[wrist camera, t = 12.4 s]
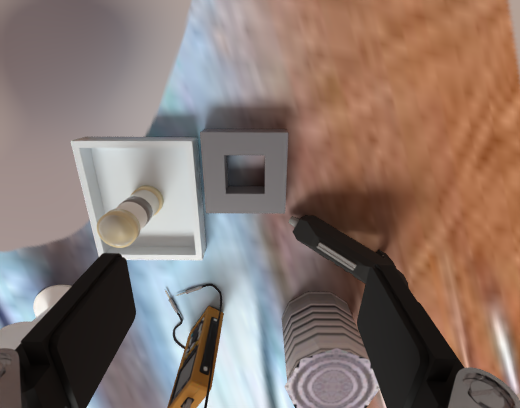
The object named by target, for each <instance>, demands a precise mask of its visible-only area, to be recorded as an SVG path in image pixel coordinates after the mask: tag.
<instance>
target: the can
mask: <svg viewBox="0 0 520 408" xmlns="http://www.w3.org/2000/svg"><path fill="white" fill-rule="evenodd" d="M282 326H283V338H284V349H285V361H286V373H287V383H286V385H285V388H286V390H287V392H288V394H289V396H290V398H291V400H292V402H293V404H294V407H295V408H366V407H367V406H368V404H369V403H370V402H371V400H372V399H373V397H374V396H375V395H376V393H377V392H378V390H379V389H380V388H379V385H378V382H377V379H376V377H375V374H374V371H373V369H372V366H371V363H370V360H369V358H368V355H367V352H366V350H365V347H364V345H363V342H362V340H361V337H360V335H359V332H358V329H357V327H356V324H355V322H354V319H353V317H352V314H351V312H350V309H349V307H348V304H347V302H345V301H344V300H342V299H340V298H339V297H337V296H336V295H334V294H333V293H331V292H307V293H305V294H303V295H301V296H299V297H297V298H296V299H294V300H292V301H290V302H289V304H288V306H287V308H286V310H285V312H284V314H283V317H282Z"/></svg>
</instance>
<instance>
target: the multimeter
mask: <svg viewBox="0 0 520 408" xmlns="http://www.w3.org/2000/svg"><path fill="white" fill-rule="evenodd" d="M206 286H213V287H214V288H215V289H216V290H217V291H218V292H219V294H220V310H217V309H214V308H212V307H210V306H208V307H207V309H206V311H205V312H204V313H203V315H202V316H201V318H200V319H199V321H198V322H197V323H196V325H195V326H194V328H193V329H192V330H191V332H190V334H189V336H188V340H187V343H186V346H185V347H184V346H182V345H181V344H180V343H178V342H177V340H176V339H175V335H174V333H175V329H176V328H177V327H178V326H180V325H181V324H182V321H183V320H182V318H181V316H180V314H179V313H178V309H177V307H176V305H175V304H174V302H173V300H172V298H170V296H169V295H168V293H167V291H166V290H165V292H166V294H167V296H168V297H169V301H170V303H171V305H172V307H173V309H174V310H175V312H176V313H177V314H178V316H179V318H180V320H181V323H180V324H179V325H177V326H176V327H175V328H174V330H173V338H174V340H175V342H176V343H177V344H178V345H179V346H181V347H182V348H184V349H185V350H184V353H183V357H182V360H181V363H180V366H179V370H178V373H177V377H176V380H175V383H174V387H173V390H172V394H171V397H170V400H169V404H168V407H167V408H196V407H197V406H198V405H199V404H200V403H201V401H202V400H203V399H204V398H205V397H206V400H205V406H204V408H207V402H208V396H209V392H210V390H211V387H212V381H213V375H214V369H215V363H216V357H217V351H218V345H219V339H220V333H221V327H222V321H223V315H224V313H223V312H221V307H222V295H221V292H220V290H219V289H218V288H217V287H216V286H214V285H213V284H206V285H203V286H198V287H195V288H192V289H189V290H186V292H183V293H180V294H177V295H176V296H178V295H181V294H184V293H186V294H188V293H190V292H193V291H196V290H199V289H201V288H203V287H206Z"/></svg>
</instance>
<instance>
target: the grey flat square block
mask: <svg viewBox="0 0 520 408" xmlns="http://www.w3.org/2000/svg"><path fill="white" fill-rule="evenodd" d="M200 139H201V152H202V166H203V179H204V192H205V205H206V213H285V204H286V178H287V152H288V131H287V130H286V129H204V130H203V131H201V132H200ZM227 155H265V186H228V164H227Z"/></svg>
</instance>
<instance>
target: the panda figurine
mask: <svg viewBox="0 0 520 408" xmlns="http://www.w3.org/2000/svg"><path fill="white" fill-rule="evenodd" d="M71 287H72V286H70V285H54V286H50V287H48V288H46V289H44V290H43V291H41V292H40V293H39V294H38V295H37V297H36V298H35V301H34V305H33V308H34V313H35V316H36V318H35V319H34V320H33V321H32V322H18V323H14V324H11V325H8V326H5V327H3V328H2V329H0V349H2V348H9V349H13V350H15V349H16V348H17V347H18V346H19V345H20V344H21V340H22V339H23V338H24V337H25V336H26V335H27V334H28V333H29V332H30V331H31V329H32V328H33V327H34V326H35V325H36V324H37V323H38V322H39V321H40V320H41V319H42V318H43V317H44V316H45V314H46V313H47V312H48V311H49V310H50V309H51V308H52V307H53V306H54V305H55V304H56V303H57V302H58V301H59V299H60V298H61V297H62V296H63V295H64V294H65V293H66V292H67V291H68V290H69V289H70V288H71Z"/></svg>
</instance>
